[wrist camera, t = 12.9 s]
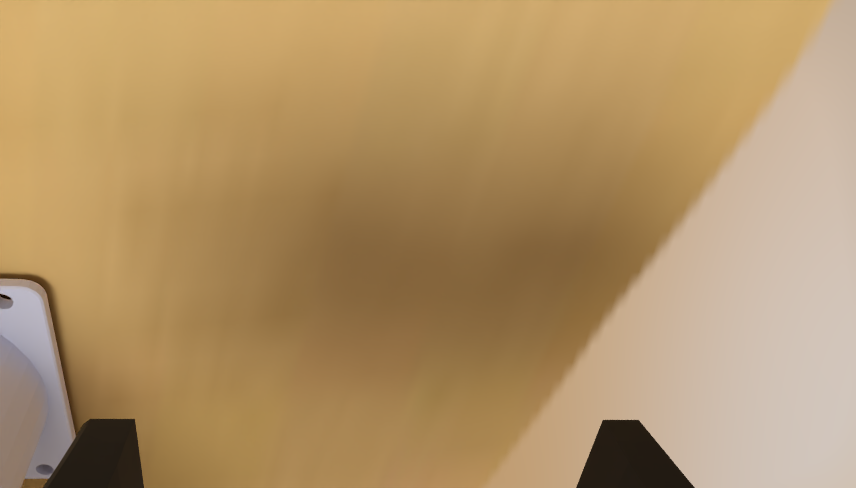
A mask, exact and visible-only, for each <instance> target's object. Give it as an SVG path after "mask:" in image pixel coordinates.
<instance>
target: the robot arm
mask: <svg viewBox="0 0 856 488" xmlns="http://www.w3.org/2000/svg"><path fill="white" fill-rule="evenodd" d="M0 294H4V295H7V296H9V297H10V298H11V299H10V300H9V299H4V298H2V297H1V296H0V488H21V487H22V484H23V481H24V479H48V481H47V482H46V484H45V485H44V487H43V488H144V484H143V477H142V469H141V462H140V455H139V447H138V440H137V432H136V425H135V419H90V420H89V421H87V422H86V423H85V424H83V426H82V427H81V429H80V431H79V432H78V434H77V436H76V435H75V430H74V425H73V420H72V415H71V410H70V405H69V401H68V396H67V391H66V386H65V381H64V376H63V371H62V366H61V362H60V357H59V352H58V347H57V342H56V337H55V332H54V328H53V323H52V318H51V313H50V308H49V303H48V298H47V294H46V292H45V290H44V288H43V287H42V286H40V285H39V284H38V283H36V282H33V281H31V280H25V279H0ZM576 488H694V486H693V485H692V484H691V483H690V482H689V480H688V479H687V478H686V477H685V476H684V474H683V473H682V472H681V471H680V470H679V468H678V467H677V466H676V465H675V464H674V462H673V461H672V460H671V459H670V457H669V456H668V455H667V454H666V453H665V451H664V450H663V449H662V448H661V447H660V445H659V444H658V443H657V442H656V441H655V439H654V438H653V437H652V436H651V435H650V433H649V432H648V431H647V430H646V429H645V427H644V426H643V425H642V424H641V423H640V421H639V420H603V421H602V424H601V426H600V429H599V431H598V434H597V436H596V439H595V442H594V444H593V447H592V449H591V452H590V454H589V457H588V459H587V462H586V464H585V467H584V469H583V472H582V474H581V477H580V480H579V482H578V485H577V487H576Z"/></svg>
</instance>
